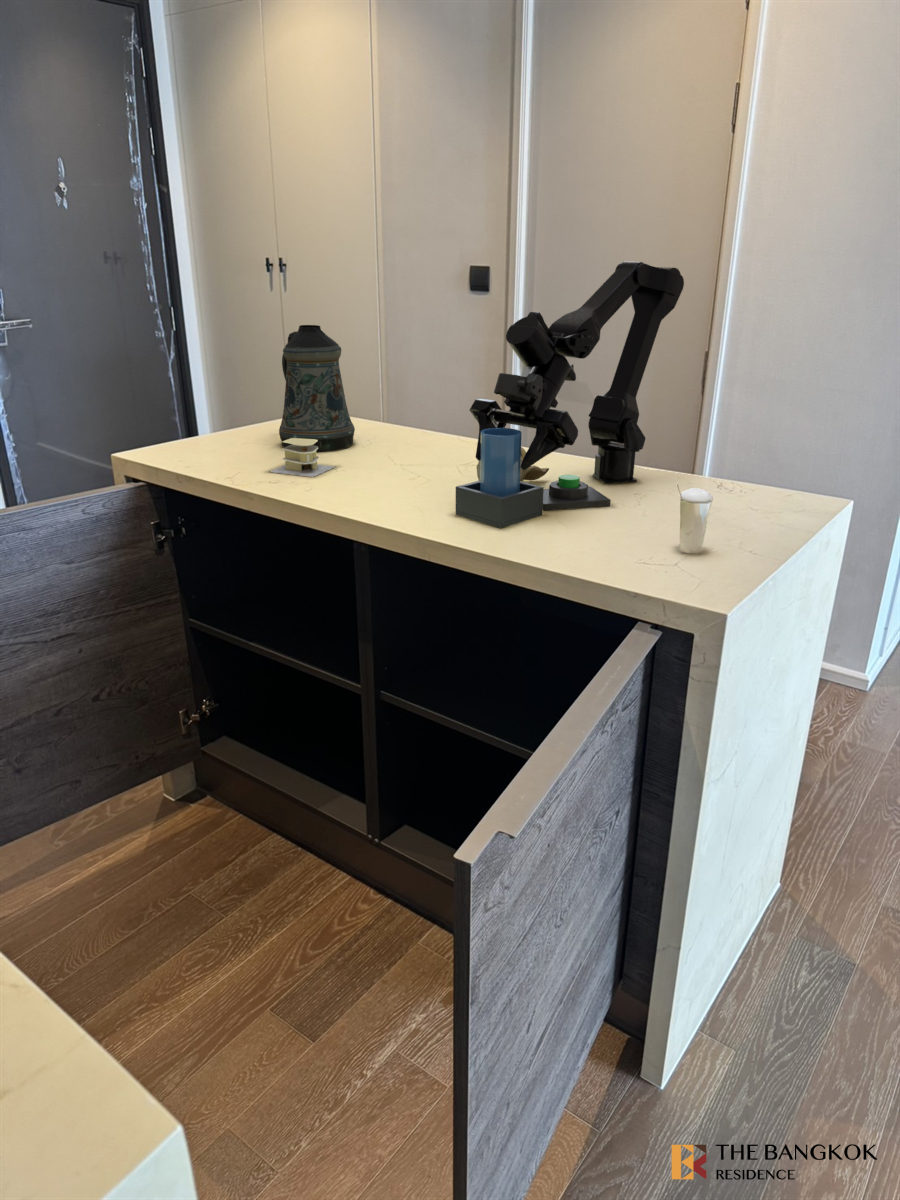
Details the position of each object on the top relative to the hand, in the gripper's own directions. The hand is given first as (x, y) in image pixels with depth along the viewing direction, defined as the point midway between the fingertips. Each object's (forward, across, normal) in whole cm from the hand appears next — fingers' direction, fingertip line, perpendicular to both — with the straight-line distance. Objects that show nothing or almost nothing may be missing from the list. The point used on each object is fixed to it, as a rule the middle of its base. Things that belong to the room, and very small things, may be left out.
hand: (499, 463), depth 139 cm
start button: (-6, +4, +15) cm, 16 cm away
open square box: (+6, 0, +6) cm, 9 cm away
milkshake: (+3, +31, +10) cm, 33 cm away
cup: (+6, 0, +6) cm, 8 cm away
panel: (-4, +4, +16) cm, 17 cm away
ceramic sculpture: (-5, -11, +18) cm, 21 cm away
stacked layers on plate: (+8, -48, +5) cm, 49 cm away
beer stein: (-4, -64, +17) cm, 67 cm away
